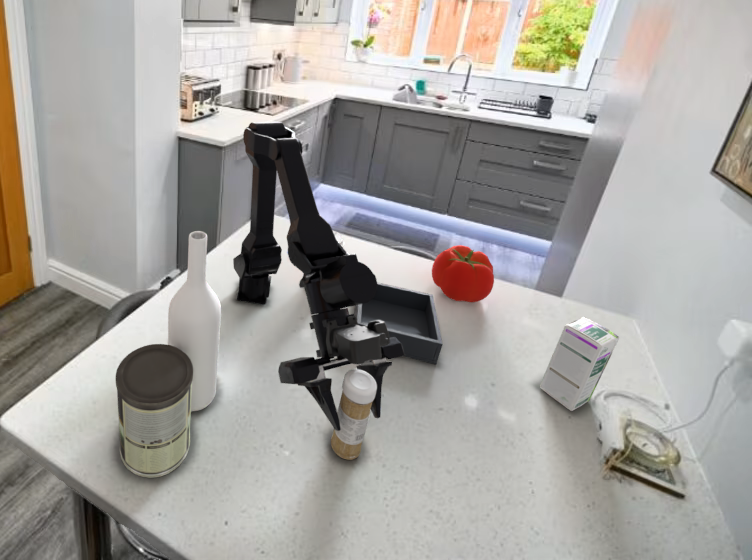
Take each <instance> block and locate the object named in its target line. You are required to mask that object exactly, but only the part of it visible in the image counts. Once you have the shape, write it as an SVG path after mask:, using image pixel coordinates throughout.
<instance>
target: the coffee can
mask: <svg viewBox="0 0 752 560" xmlns="http://www.w3.org/2000/svg"><path fill="white" fill-rule="evenodd" d="M192 380H193V365H192V362H191V360H190V358H189V357H188V356H187V355H186V354H185V353H184V352H183V351H182V350H180V349H178V348H176V347H174V346H171V345H168V344H166V343H154V344H147V345H144V346H140V347H138V348H136V349H134V350H132V351H131V352H130V353H127V355H126V356H125V357H124V358H122V360H121V362H120V363H119V365H118V366H117V369H116V372H115V387H116V395H117V414H118V416H117V417H118V436H119V454H120V459H121V461H122V463H123V465H124V466H125V468H126V469H127V470H128V471H130V472H131V473H133V474H134V475H136V476H139V477H142V478H147V479H153V478H160V477H163V476H166V475H168V474H170V473H172V472H173V471H175V470H176V469H177V468H179V467H180V465H181V464H182V463H183V462H184V460H185V459H186V457H187V455H188V454H189V450H190V446H191V415H192V414H191V413H192V411H191V391H192Z"/></svg>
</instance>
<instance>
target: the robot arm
mask: <svg viewBox="0 0 752 560" xmlns="http://www.w3.org/2000/svg"><path fill="white" fill-rule="evenodd" d="M242 139H243V143H244V148H245V149H244V150H245V154H246V155H247V157H248V159H249V161H250V162H251V164H252V174H251V175H252V177H251V178H252V179H251V197H250V198H251V202H250V224H249V232H248V233H247V235H246V237H245V238H244V239H243V241H242V242H241V248H240V253H239V254H238V255H236V256H234V258H233V259H232V260H233V262H232V263H233V269H234V271H235V273H236V274H237V276H238V278H239V279H238V289H237V294H236V301H238V302H242V303H243V302H244V303H251V304H256V305H267V300H268V298H270V291H271V283H272V275H277V273H278V271H279V269H280V266H281V264H282V261H283V260H282V250H283V249H282V247H281V245H279V243H278V242H277V239H276V238H275V236H274V227H275V224H274V223H275V211H276V210H275V209H276V208H275V207H276V191H277V177H278V180H279V184H280V188H281V191H282V195H283V199H284V204H285V206H286V210H287V211H286V212H287V214H288V218H289V219H288V220H289V224H290V225H289V228H288V231H287V234H286V242H287V256H288V260H289V262H290V263H291V265H293V266H294V267H296V268H297V269H298V270H299V271H300V272H302V273H303V274H302V275H303V276H302V278H301V279H300V280H299V283H298V287H299V288H303V289H304V291H305V295H306V299H307V305H308V309H309V312H310V313H309V314H310V316H311V317H310V318H311V320H312V321H311V322H309V323H308V324H309V329H310V330H314V333H315V337H316V341H317V345H318V349H316V350H315V352H316V358H315V357H314V356H301V357H296V358H293V359H290V360H285V361H284V360H283V361H280V363H279V366H278V369H277V371H278V377H279V381H280V384H284V385H285V384H286V385H287V384H288V385H297V386H300V387H304V388H305V389H306V390H307V392H308V393H309V394H310V395H311V396H312V398H313V399H314V400H315V402H316V403H317V404H318V406H319V407H320V409H321V411H322V412H323V414H324V415H325V417H326V419H327V420H328V421H329V423H330V424H331V426H332V428H333V430H334V429H335V430H336V431H340V430H341V428H340V422H339V417H338V414H337V411H338V409H337V406H336V403H335V399H334V397H333V393H332V382H333V379H332V378H331V377H326V373H325V372H327V371H329V370H333V369H337V368H341V367H344V366H345V367H346V366H349V365H352V364H353V365H356V369H359V370H363V371H365V372H367V373H369V374H370V375H371V376H372V377H373V378H374V379H375V381H376V384H377V390H376V395H375V398H374V400H373V402H372V405H371V409H370V412H371V413H372V416H373V417H374V419H380V418H381V411H382V389H383V388H382V387H383V381H384V375H385V373H386V372H387V370H388V368H389V367H391V366H393V361H387V360H393V359H398V358H402V357H404V356H405V353H404V350H403V346H402V344H401V343H400V341H399V340H398V339H397V338H396V337H389V332H388V330H387V327H386V324H385V322H384V321H381V320H375V321H371V322H369V323H368V326H367V325H366V326H359V324H358V323H357V319H356V317H355V316H354V315H355V313H350V312H349V307H355V305H359V304H363V303H367V302H369V301H371V300H372V299H373V298H374V296H375V294H376V292H377V282H378V280H377V279H378V278H377V276H376V274H375V273H374V272H373V271H372V269H371V268H370V267H369V266H367V265H366V263H363V262H360V261H359V260H358V256H357V254H356V253H348V252H347V251H346V250H345V248H344V247H342V246H341V245H340V244H339V242H338V241H337V240H336V238H335V236H334V233H333V231H334V230H333V228H332V226H331V224H330V222H328V221H327V220H326V219H325V218H324V217H323V216H322V215H321V214H320V211H319V209H318V206H317V202H316V199H315V196H314V192H313V189H312V186H311V182H310V179H309V178H310V177H309V175H308V171H307V168H306V165H305V162H304V158H303V144H302V142H301V140H300V139H299V138H297V137H296V132H295V131H293V130H291V129H290V128H289V127H286V126H285V124H284V123H283V122H282V121H260V122H257V121H256V122H255V121H254V122H250V123H249V124H248V126H246V128H245V129H244V131H243V138H242ZM332 230H333V231H332Z"/></svg>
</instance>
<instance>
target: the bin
mask: <svg viewBox="0 0 752 560" xmlns="http://www.w3.org/2000/svg"><path fill="white" fill-rule="evenodd" d="M434 298H435V297H434V294H432V293H427V292H424V291H418V290H414V289H409V288H405V287H400V286H396V285H392V284H387V283H383V282H378V281H377V292H376V294H375V296H374V298H373V299H372V300H371V301H369V302H367V303H363V304H359V305H355V306H354V316H355V317H356V319H357V323H358V324H359V326H366V325H367V326H368V323H369V322H371V321H375V320H381V321H384V322H385V324H386V327H387V330H388V332H389V337H396V338H397V339H398V340H399V341H400V343H401V344H402V346H403V350H404V353H405V356H403V357H404V358H409V359H413V360H417V361H420V362H424V363H428V364H432V365H437V364H438V360H439V357H440V355H441V352H442V348H443V346H444V345H443V344H444V343H443V339H442V332H441V328H440V323H439V317H438V313H437V309H436V303H435V299H434Z"/></svg>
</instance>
